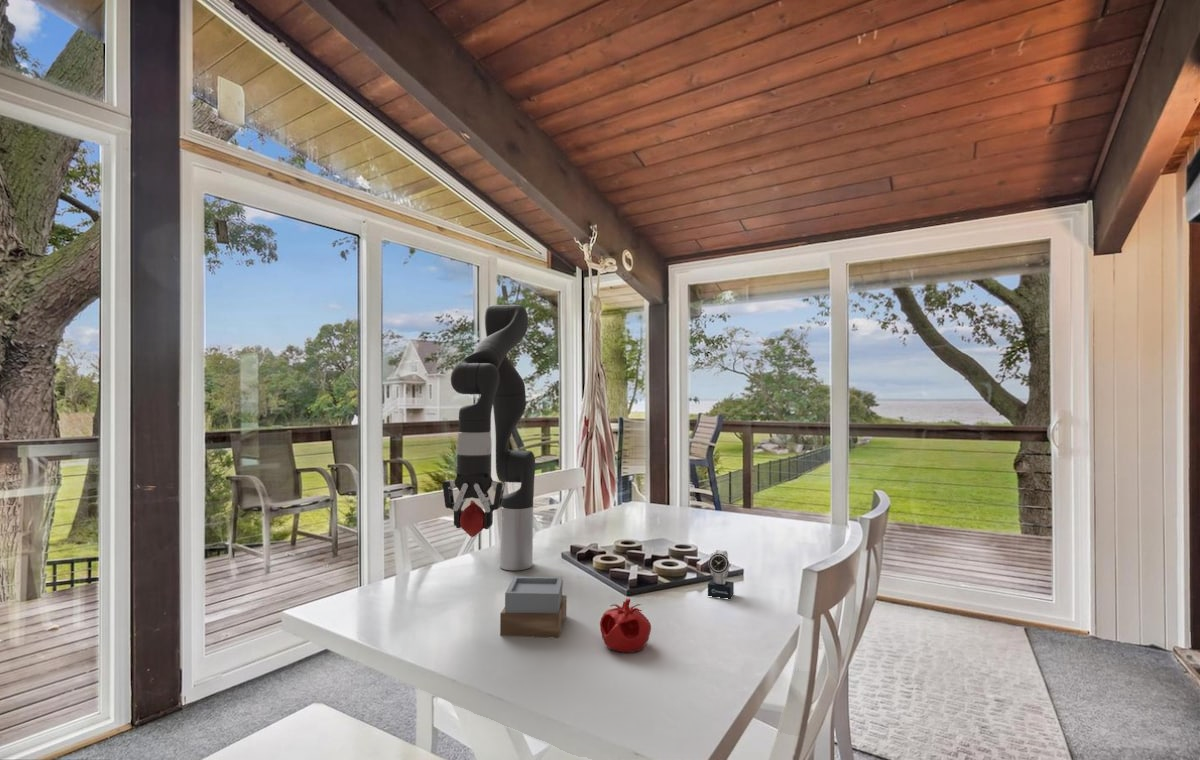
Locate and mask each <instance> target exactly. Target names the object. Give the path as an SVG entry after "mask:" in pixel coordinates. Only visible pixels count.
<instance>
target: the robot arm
mask: <svg viewBox="0 0 1200 760" xmlns="http://www.w3.org/2000/svg"><path fill="white" fill-rule="evenodd" d="M528 325H529V317H528V313H527V310H526V308H525V306H522V305H519V304H492V305H491V304H490V305H488V306H487V307H486V309H485V314H484V327H485V335H486V337H484V338H483V339H482V340H481V341H480V342H479V343H478V345H477V346H476V347H475V349H474V351H473V352H472V353H470V354H469V355H466V357H464V358H462V359H461V360H460V361H458V362H457V363H456V364H455V366H454V367H453V369H452V372H451V374H450V385H451V386H452V387H451V388H452V389H453V390H454V391H455V392H456V393H458V394H462V395H480V397H479V399H478V401H477V402H475V403H471V404H466V405H464V406H462V407H460V409H459V412H458V436H457V443H456V445H457V446H456V477H455V479H454V480H453V479H452V480H451V479H448V480H444V481H443V482H442V490H443V492H442V493H443V499H444V506H445V508H446V509H451V510H452V511H453V525H454V526H455V528H456V529H462V528H461V526H460V516H461V513H462V512H463V510H464V509H462V508H463V506H464V503H465V501H466V500H467V499H471V498H472V499H476V500H477V499H479V501H480V503H481V504H482V506H483V510H484V512H485V513H484V529H483V530H489V529H490V528H491V527H492V525H493V524H494V523H493V521H494V517H493V516H494V511H496V510H498V509H499V508H500V543H499V544H500V550H499V552H500V553H499V556H500V558H499V567H500V568H501V569H502V570H506V571H514V572H515V571H524V570H528V569H530V568H532V567H533V555H534V554H533V551H534V547H533V546H534V545H533V543H534V542H533V541H534V540H533V539H534V495H535V474H536V458H535V454H534V452H533V451H532V450H524V449H523V450H519V449H518V450H516V449H515V450H514V449H510V439H511V437H512V434H513V432H514V429H515V428H516V427H517V425H518V424H519V422H520V420H521V418H522V417H523V415H524V413H525V411H526V407H527V399H526V386H525V382H524V380H523V378H522V376H521V375H520V374H519V372H518V371H517V369H516V368H515V366H514V365H513V364H512V363H511V361H510V359H509V358H508V356H507V355H508V354H509V352H510V351H512V349H513V348H515V346H516V345H517V344H519V342H520V341H521V340H522V339H523V338H524V337H525V335H526V333H527V330H528V327H529V326H528ZM492 411H493V417H494V418H493V420H494V429H495V472H496V473H495V474H496V476H497V478H498V479H497V480H498V481H496V480H493V478H492V436H491V435H492V433H491V429H492V428H491V425H492V424H491V423H492V420H491V418H492ZM506 483H515V484H516V483H520V487H519V488H518V489H517V490H515V491H513V492H510V493H507V494H504V491H505V488H506V487H505V486H506ZM455 486H456V488H457V489H458V492H459V493H458V495H457V498H456V500H455V499H454V492H453V490H455ZM491 487H492V488H493V489H492V490H493V491H494V492H495V493H494V499H493V502H492V500H491V496H490V493H489V490H490V489H491Z"/></svg>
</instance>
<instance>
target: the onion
mask: <svg viewBox="0 0 1200 760" xmlns="http://www.w3.org/2000/svg"><path fill="white" fill-rule="evenodd" d="M469 503H470V504H469V505H468V506H466V507H465V508H464V509H462V510H463V512H462V513H461V516H460V526H461V528H460V529H462V530H463V531H464V532H465V533H466V534H467V535H468V536H469V537H471V538H473V537H475V536H477V535H478V534H479V533H481V532H482V531H483V530H485V529H484V513H485V512H486V511H485V510H484V508H482V507H481V506H479V505H478V504H477V503H476V502H475V501H474V500H470V502H469Z"/></svg>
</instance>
